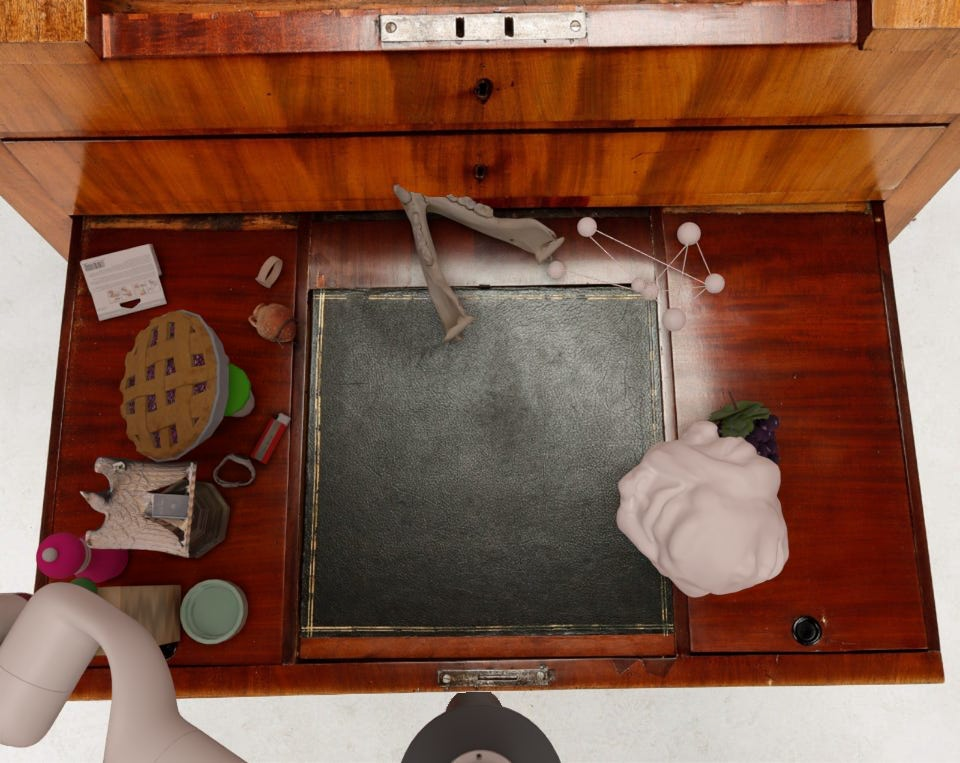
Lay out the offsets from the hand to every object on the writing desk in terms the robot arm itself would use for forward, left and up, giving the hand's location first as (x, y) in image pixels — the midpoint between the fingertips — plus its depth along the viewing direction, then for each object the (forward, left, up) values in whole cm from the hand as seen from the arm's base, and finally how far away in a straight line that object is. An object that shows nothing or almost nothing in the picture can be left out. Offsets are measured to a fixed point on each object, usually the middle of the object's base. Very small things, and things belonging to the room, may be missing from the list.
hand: (84, 622), depth 107 cm
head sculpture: (+2, -87, -6) cm, 87 cm away
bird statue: (+14, -8, -24) cm, 29 cm away
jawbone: (+55, -47, -25) cm, 77 cm away
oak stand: (0, 0, -24) cm, 24 cm away
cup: (+31, -13, -24) cm, 42 cm away
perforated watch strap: (+52, -18, -25) cm, 60 cm away
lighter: (+22, -15, -24) cm, 36 cm away
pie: (+32, -7, -16) cm, 36 cm away
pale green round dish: (0, -9, -24) cm, 26 cm away
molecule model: (+56, -74, -21) cm, 96 cm away
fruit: (+15, -92, -23) cm, 96 cm away
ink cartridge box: (+56, +6, -21) cm, 60 cm away
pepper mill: (+9, +7, -25) cm, 27 cm away
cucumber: (0, 0, 0) cm, 0 cm away
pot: (+45, -21, -20) cm, 54 cm away
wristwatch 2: (+18, -12, -24) cm, 32 cm away
